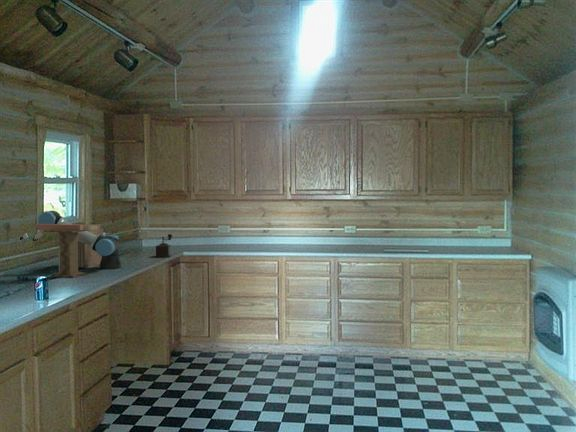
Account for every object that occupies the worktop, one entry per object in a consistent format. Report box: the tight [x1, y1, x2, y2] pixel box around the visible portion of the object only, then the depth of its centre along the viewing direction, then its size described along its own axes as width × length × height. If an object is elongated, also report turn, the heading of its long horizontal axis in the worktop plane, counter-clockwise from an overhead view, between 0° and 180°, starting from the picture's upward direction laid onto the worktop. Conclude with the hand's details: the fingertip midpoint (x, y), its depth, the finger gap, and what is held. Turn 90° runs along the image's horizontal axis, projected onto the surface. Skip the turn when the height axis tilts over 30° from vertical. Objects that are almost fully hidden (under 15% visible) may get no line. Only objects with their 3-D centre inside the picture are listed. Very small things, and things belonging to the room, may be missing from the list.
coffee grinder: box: [155, 233, 173, 258], centre depth 477 cm, size 16×11×18 cm
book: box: [78, 223, 104, 269], centre depth 422 cm, size 25×9×30 cm, turn 167°
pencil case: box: [36, 223, 84, 231], centre depth 379 cm, size 30×4×4 cm, turn 83°
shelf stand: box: [50, 230, 87, 279], centre depth 378 cm, size 17×13×30 cm
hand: (34, 234), depth 386 cm, fingers open, 13 cm apart
